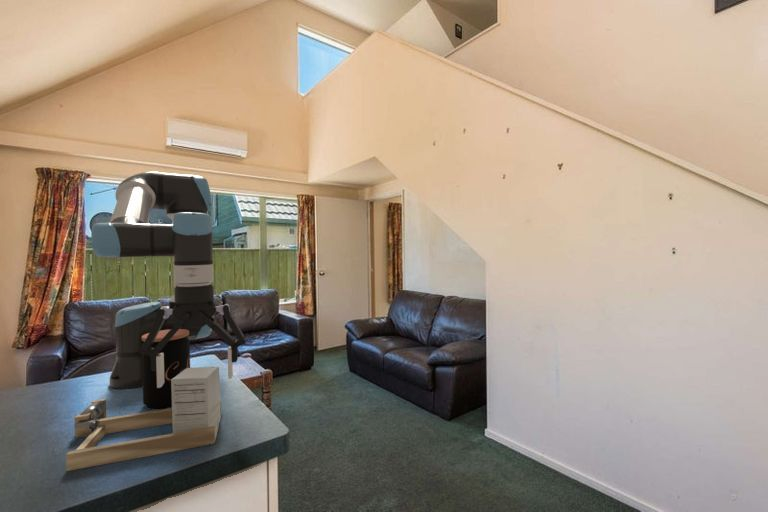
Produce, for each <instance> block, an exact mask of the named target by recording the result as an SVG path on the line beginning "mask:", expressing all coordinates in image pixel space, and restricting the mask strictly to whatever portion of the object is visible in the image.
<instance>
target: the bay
mask: <svg viewBox="0 0 768 512" xmlns="http://www.w3.org/2000/svg"><path fill="white" fill-rule="evenodd" d="M220 410H221V414H222V413H223V412H222V400H220ZM169 424H172V407H171V408H166V409H159V410H151V411H143V412H137V413H129V414H125V415H117V416H109V417H106V418H103V419H100V420H99V424H98V425H97V426H96V428H94V430H93V431H91V434H90V435H89V436H86V438H85V440H84V441H82V443H81V444H80V445H79V446H78V447H77V448H76V449H74V450H69V451H68V452H67V453H66V454H65V461H66V468H65V469H66V472H70V471H77V470H81V469H85V468H87V469H88V468H92V467H96V466H102V465H108V464H111V463H112V464H113V463H119V462H123V461H130V460H133V459H134V460H135V459H139V458H146V457H151V456H155V455H161V454H167V453H171V452H177V451H183V450H188V449H192V448H199V447H205V446H210V445H215V444H214V443H215V442H216V439H215V426H213V427H208V428H202V429H196V430H190V431H184V432H178V433H173V432H172V433H167V434H163V435H155V436H151V437H150V436H149V437H144V438H138V439H137V438H136V439H131V440H126V441H120V442H114V443H109V444H103V445H98V443H99V442H100V441H101V440H102V439H103V437H104V436H105V435H107V434H114V433H115V434H116V433H121V432H126V431H133V430H139V429H146V428H150V427H151V428H152V427H157V426H164V425H169ZM209 444H210V445H209ZM96 445H98V446H96ZM204 445H205V446H204ZM198 446H199V447H198Z"/></svg>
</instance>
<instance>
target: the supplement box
mask: <svg viewBox="0 0 768 512" xmlns="http://www.w3.org/2000/svg"><path fill="white" fill-rule="evenodd" d="M171 391H172V407H171V408H172V423H171V424H172V433H178V432H184V431H190V430H196V429H202V428H208V427H213V426H215V427H216V425H217V424H218V423H219V424H220V421H221V420H222V417H221V416H222V413H221V411H222V409H221V410H220V401H221V385H220V366H201V367H190V368H186V369H185V370H184V371H182V372H181V373H180V374H178V375H177V376H175V377H174V378H173V379H171Z"/></svg>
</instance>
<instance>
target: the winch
mask: <svg viewBox="0 0 768 512" xmlns="http://www.w3.org/2000/svg"><path fill="white" fill-rule="evenodd" d="M103 418H108V417H107V399H106V398H101V399H93V401H91V403H90V404H89V406H88V407H86V408H85V409H84V410H83V411H82V412H81V413H79V414H77V415H76V416H75V417H74V427H73V428H74V438H75V439H79V438H85V437H88V436H89V435H90V434H91V433H92V430H93V429H96V428H95V427H97V426H98V424H99V420H100V419H103Z"/></svg>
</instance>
